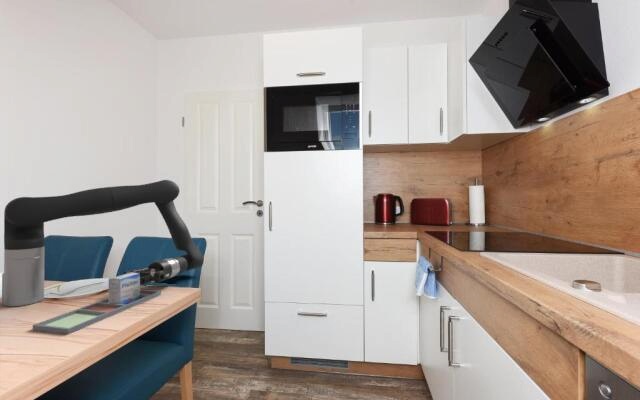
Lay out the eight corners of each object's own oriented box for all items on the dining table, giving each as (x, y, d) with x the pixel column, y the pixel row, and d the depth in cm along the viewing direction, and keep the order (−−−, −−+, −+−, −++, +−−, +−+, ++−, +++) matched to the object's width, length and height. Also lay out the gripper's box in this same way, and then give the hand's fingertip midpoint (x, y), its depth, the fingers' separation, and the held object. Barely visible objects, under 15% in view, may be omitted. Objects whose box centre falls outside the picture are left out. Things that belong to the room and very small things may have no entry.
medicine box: (120, 307, 94) (120, 279, 94) (107, 306, 95) (108, 278, 94) (140, 299, 101) (140, 273, 101) (128, 298, 102) (128, 272, 102)
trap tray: (32, 329, 77) (32, 325, 77) (133, 292, 108) (133, 288, 108) (68, 334, 75) (68, 329, 75) (160, 294, 106) (160, 291, 106)
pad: (37, 329, 78) (37, 327, 78) (77, 313, 88) (77, 312, 88) (68, 332, 76) (68, 331, 76) (106, 316, 86) (106, 315, 86)
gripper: (147, 258, 117) (111, 267, 101) (181, 260, 114) (148, 270, 98) (147, 278, 117) (110, 290, 101) (180, 280, 114) (148, 293, 98)
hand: (129, 280), depth 100 cm, fingers open, 8 cm apart
